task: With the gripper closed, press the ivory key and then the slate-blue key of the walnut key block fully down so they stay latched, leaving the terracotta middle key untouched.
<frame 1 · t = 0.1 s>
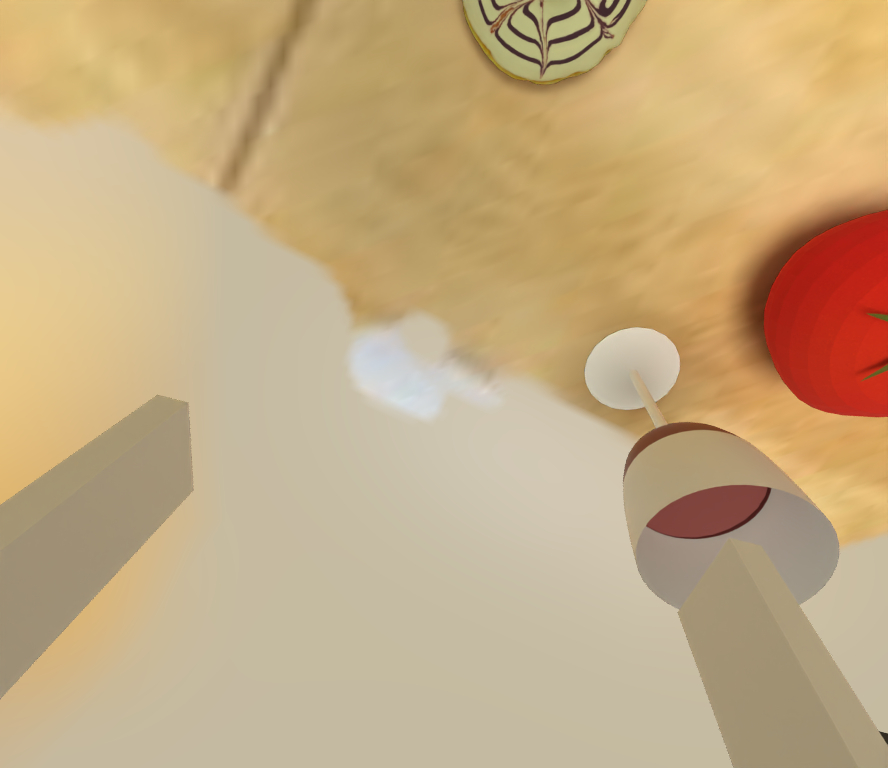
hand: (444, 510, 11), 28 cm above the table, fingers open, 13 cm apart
tomato: (831, 284, 34), on the table
wineglass: (630, 369, 39), on the table
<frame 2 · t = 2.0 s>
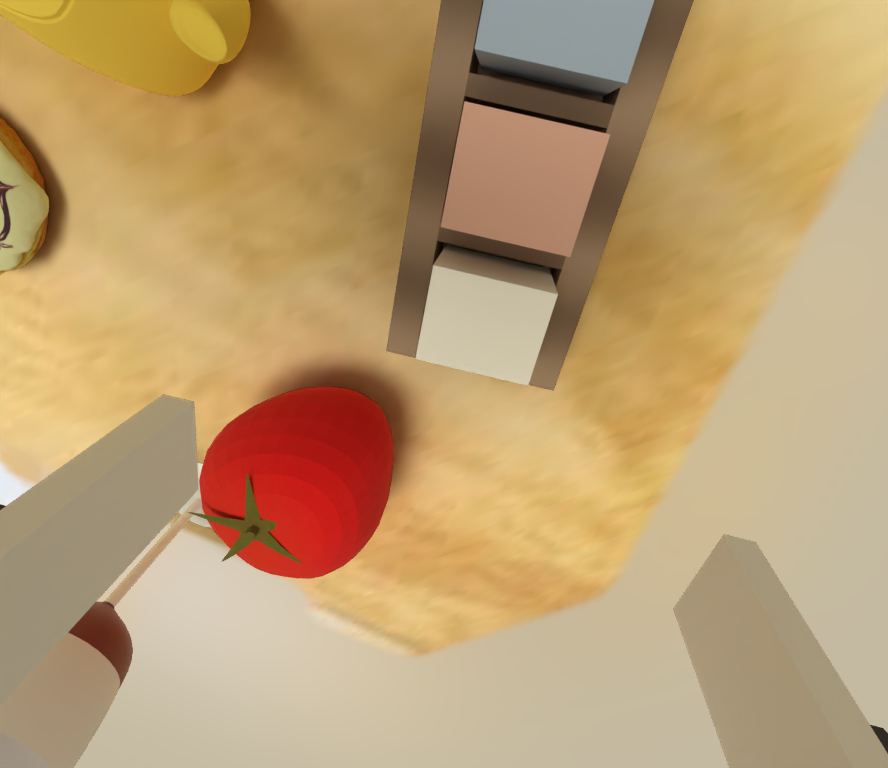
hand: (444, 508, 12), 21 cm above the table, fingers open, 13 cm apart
tomato: (334, 432, 37), on the table
slate key: (564, 4, 18), point 6 cm above the table, slide at 0.0 cm
wineglass: (204, 494, 42), on the table
ivory key: (485, 311, 24), point 6 cm above the table, slide at 0.0 cm
terracotta key: (519, 179, 21), point 6 cm above the table, slide at 0.0 cm
key block: (517, 173, 27), on the table
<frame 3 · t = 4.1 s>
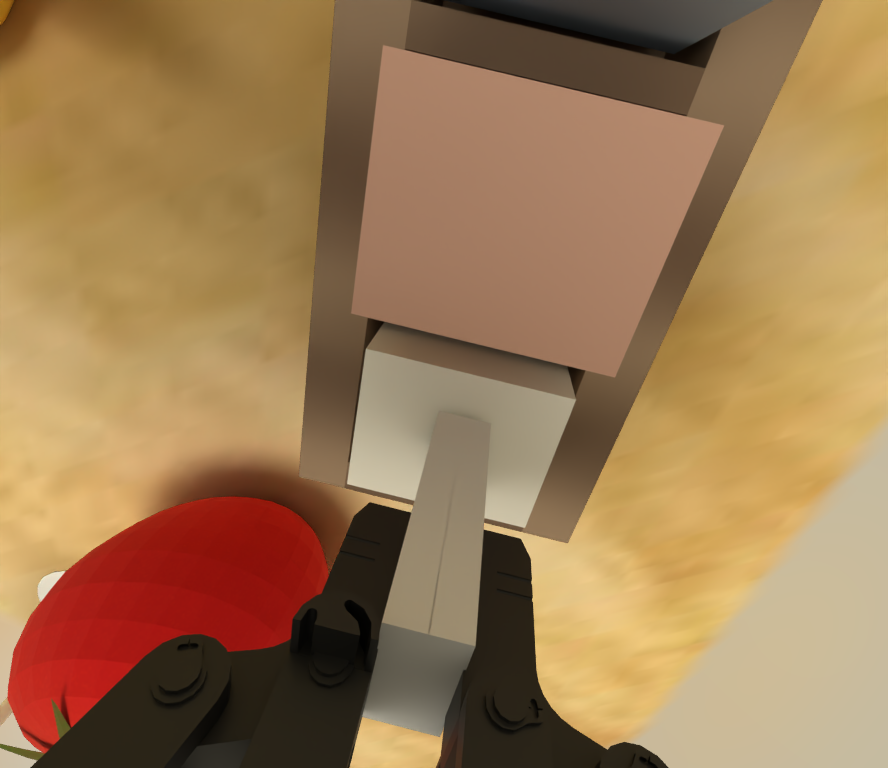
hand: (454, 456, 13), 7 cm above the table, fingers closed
tomato: (256, 543, 27), on the table
wineglass: (95, 608, 31), on the table
ivory key: (459, 403, 16), point 4 cm above the table, slide at 2.0 cm, touching gripper
terracotta key: (512, 214, 11), point 6 cm above the table, slide at 0.0 cm
key block: (510, 191, 16), on the table
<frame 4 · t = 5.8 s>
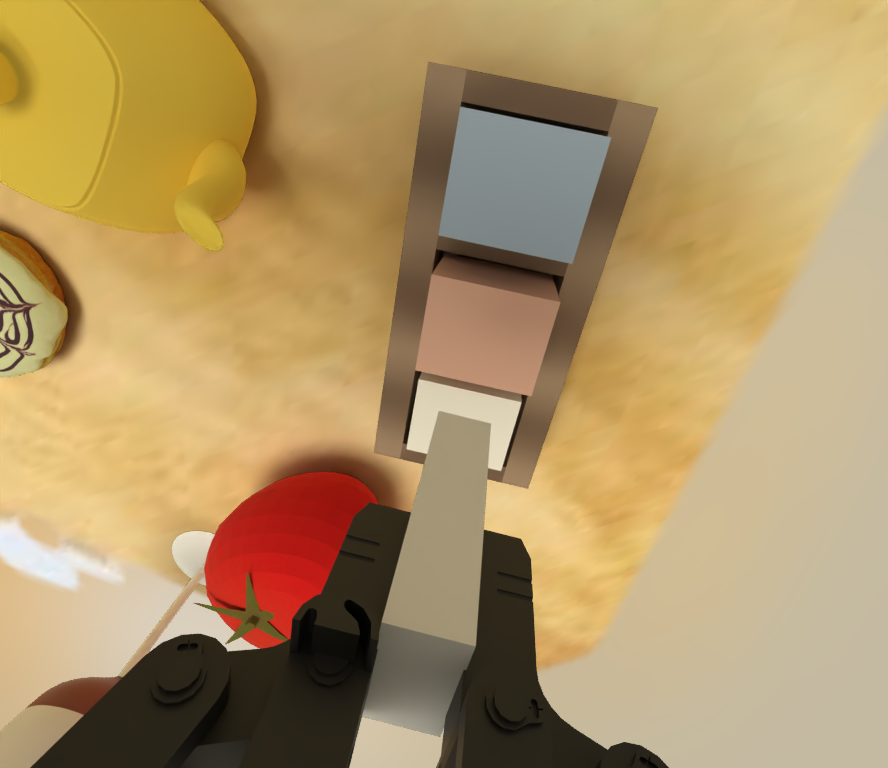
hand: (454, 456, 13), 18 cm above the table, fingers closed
tomato: (330, 506, 39), on the table
slate key: (518, 185, 21), point 6 cm above the table, slide at 0.0 cm
wineglass: (211, 559, 44), on the table
ivory key: (465, 405, 29), point 4 cm above the table, slide at 2.5 cm
decorated donut: (16, 294, 35), on the table
teapot: (162, 75, 27), on the table
terracotta key: (486, 320, 24), point 6 cm above the table, slide at 0.0 cm
key block: (491, 290, 29), on the table
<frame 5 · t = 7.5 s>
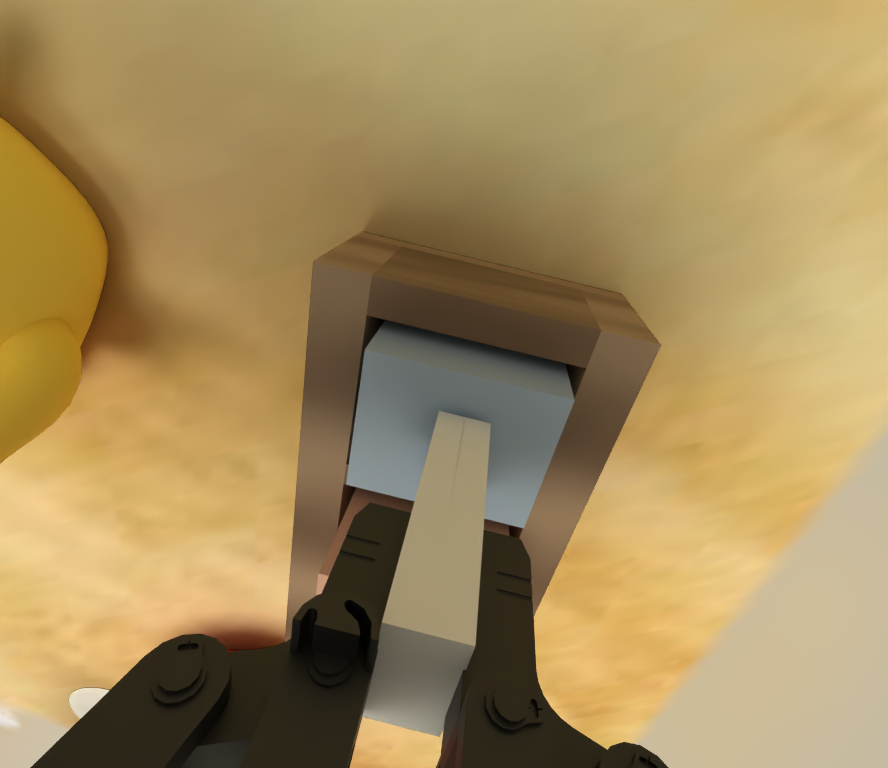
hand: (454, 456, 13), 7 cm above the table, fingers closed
slate key: (458, 404, 16), point 4 cm above the table, slide at 2.1 cm
wineglass: (117, 713, 37), on the table
terracotta key: (414, 581, 17), point 6 cm above the table, slide at 0.0 cm
key block: (436, 477, 22), on the table
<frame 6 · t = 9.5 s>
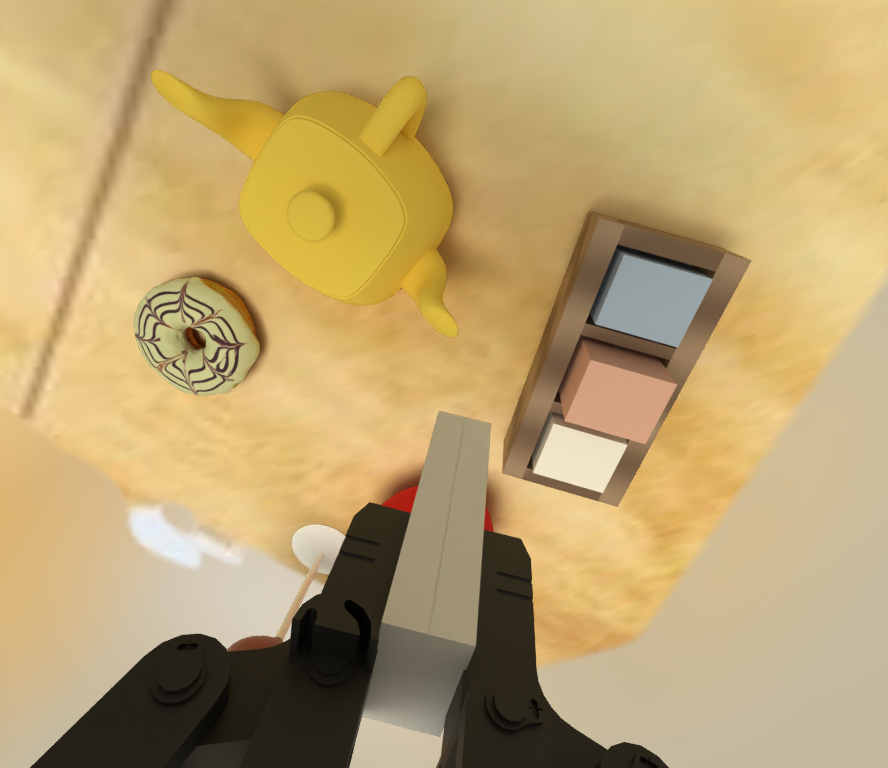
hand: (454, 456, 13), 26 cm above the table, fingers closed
tomato: (437, 510, 49), on the table
slate key: (642, 293, 33), point 4 cm above the table, slide at 2.5 cm
wineglass: (323, 548, 53), on the table
ivory key: (575, 442, 39), point 4 cm above the table, slide at 2.5 cm
decorated donut: (212, 330, 44), on the table
teapot: (375, 187, 36), on the table
terracotta key: (612, 387, 34), point 6 cm above the table, slide at 0.0 cm
key block: (599, 356, 39), on the table
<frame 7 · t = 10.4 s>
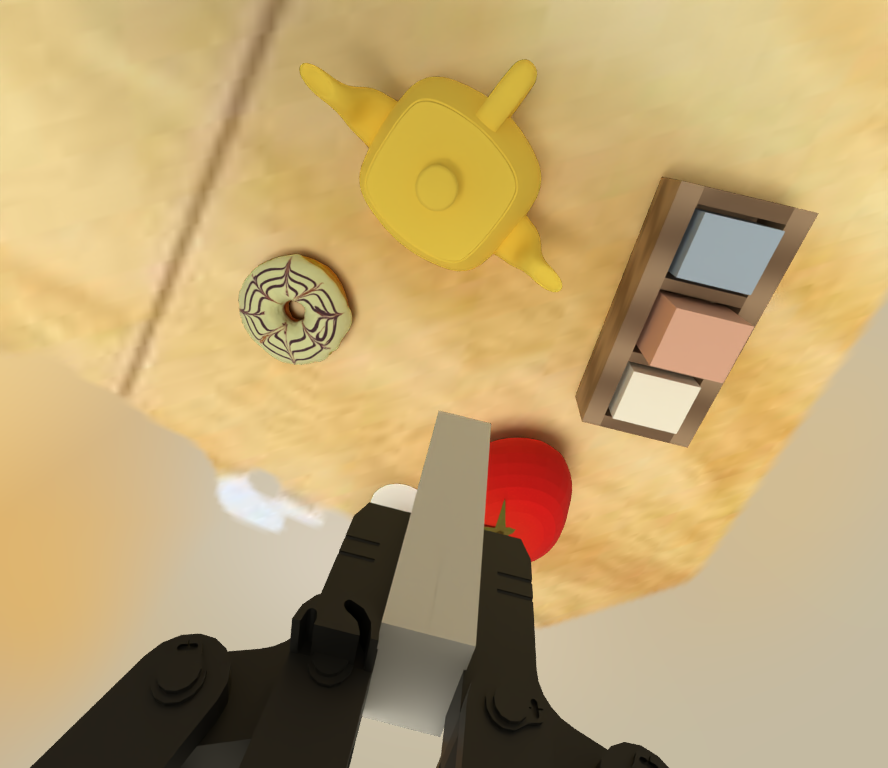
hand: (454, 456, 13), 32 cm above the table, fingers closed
tomato: (509, 465, 53), on the table
slate key: (715, 248, 37), point 4 cm above the table, slide at 2.5 cm
wineglass: (401, 507, 58), on the table
ivory key: (648, 390, 43), point 4 cm above the table, slide at 2.5 cm
decorated donut: (304, 304, 48), on the table
teapot: (464, 164, 40), on the table
terracotta key: (689, 335, 38), point 6 cm above the table, slide at 0.0 cm
key block: (666, 311, 43), on the table
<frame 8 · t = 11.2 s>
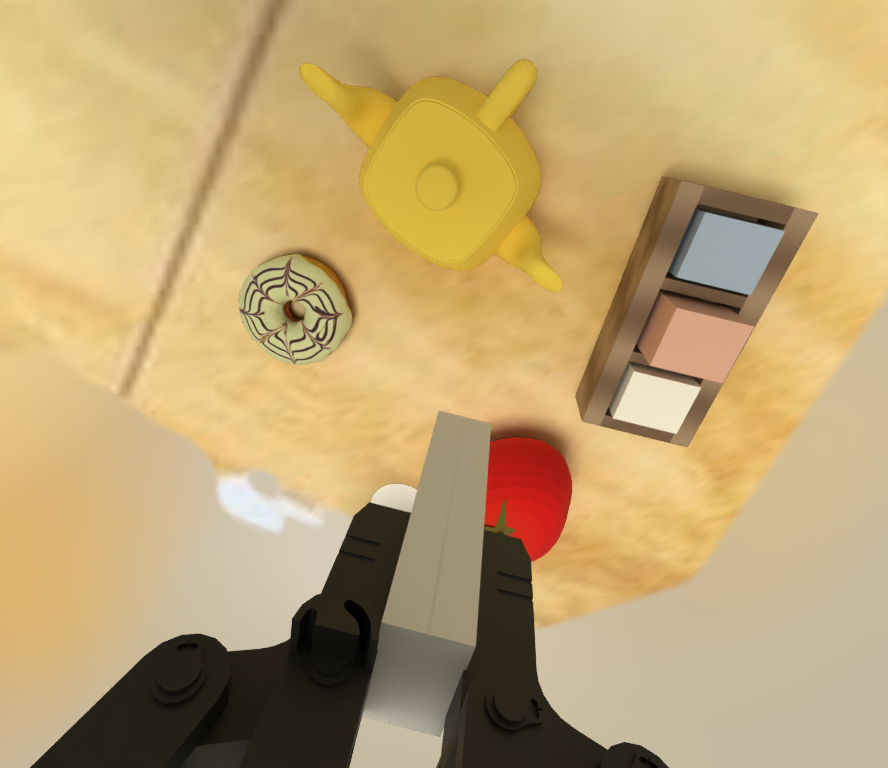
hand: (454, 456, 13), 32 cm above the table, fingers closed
tomato: (509, 465, 53), on the table
slate key: (715, 248, 37), point 4 cm above the table, slide at 2.5 cm
wineglass: (401, 507, 58), on the table
ivory key: (648, 390, 43), point 4 cm above the table, slide at 2.5 cm
decorated donut: (304, 304, 48), on the table
teapot: (464, 164, 40), on the table
terracotta key: (689, 335, 38), point 6 cm above the table, slide at 0.0 cm
key block: (667, 311, 43), on the table
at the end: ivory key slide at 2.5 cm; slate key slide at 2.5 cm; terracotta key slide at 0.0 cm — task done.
